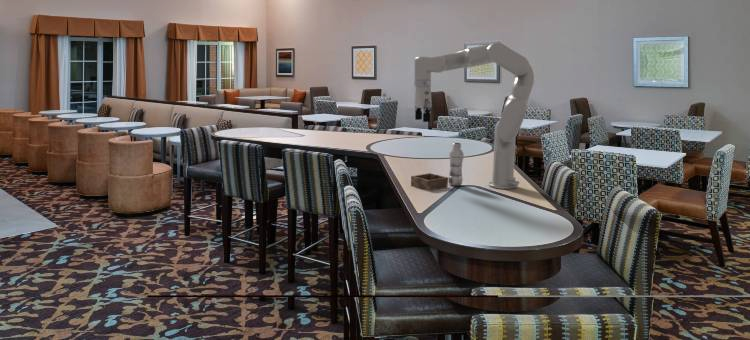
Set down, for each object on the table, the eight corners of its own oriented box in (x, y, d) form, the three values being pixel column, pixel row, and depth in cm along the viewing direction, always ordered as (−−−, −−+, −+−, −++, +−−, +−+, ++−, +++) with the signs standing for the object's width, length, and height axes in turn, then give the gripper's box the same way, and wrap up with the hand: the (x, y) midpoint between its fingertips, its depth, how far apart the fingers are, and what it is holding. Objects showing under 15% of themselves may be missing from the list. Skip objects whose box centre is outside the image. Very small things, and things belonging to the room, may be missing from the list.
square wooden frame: (447, 187, 265) (447, 177, 264) (428, 190, 258) (428, 180, 257) (429, 182, 275) (430, 173, 274) (410, 185, 267) (411, 176, 266)
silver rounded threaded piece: (449, 183, 272) (450, 142, 268) (463, 184, 270) (465, 142, 266) (446, 186, 266) (448, 144, 262) (461, 187, 264) (463, 144, 260)
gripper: (437, 84, 258) (437, 122, 261) (423, 82, 274) (422, 118, 278) (422, 84, 256) (421, 123, 259) (408, 83, 272) (408, 119, 275)
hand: (422, 120), depth 268 cm, fingers open, 9 cm apart
